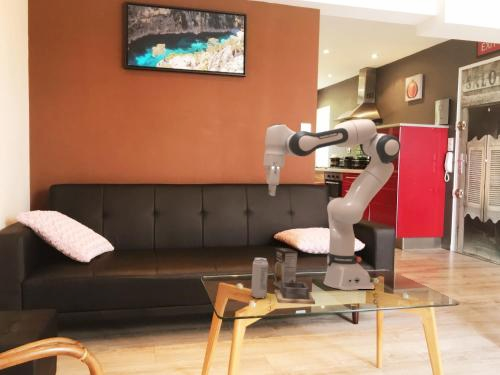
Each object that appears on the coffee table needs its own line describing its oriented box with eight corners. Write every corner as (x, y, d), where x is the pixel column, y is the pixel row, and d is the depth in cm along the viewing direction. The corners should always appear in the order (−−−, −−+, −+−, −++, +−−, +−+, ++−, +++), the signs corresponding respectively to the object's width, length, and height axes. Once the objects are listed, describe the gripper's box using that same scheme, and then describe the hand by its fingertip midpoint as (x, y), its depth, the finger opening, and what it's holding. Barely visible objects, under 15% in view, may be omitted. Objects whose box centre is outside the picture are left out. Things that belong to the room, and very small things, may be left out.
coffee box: (272, 284, 188) (274, 247, 188) (285, 283, 191) (287, 247, 190) (282, 290, 180) (284, 251, 180) (295, 289, 183) (297, 251, 182)
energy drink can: (257, 293, 172) (259, 256, 172) (269, 297, 168) (271, 259, 168) (247, 296, 168) (249, 258, 167) (259, 300, 164) (262, 261, 163)
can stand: (308, 293, 177) (309, 281, 177) (315, 303, 163) (315, 290, 163) (274, 292, 176) (275, 279, 176) (278, 302, 162) (278, 289, 162)
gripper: (284, 162, 171) (281, 197, 171) (279, 163, 191) (276, 194, 192) (268, 161, 170) (265, 196, 171) (265, 162, 191) (262, 193, 191)
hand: (271, 195), depth 181 cm, fingers open, 8 cm apart
